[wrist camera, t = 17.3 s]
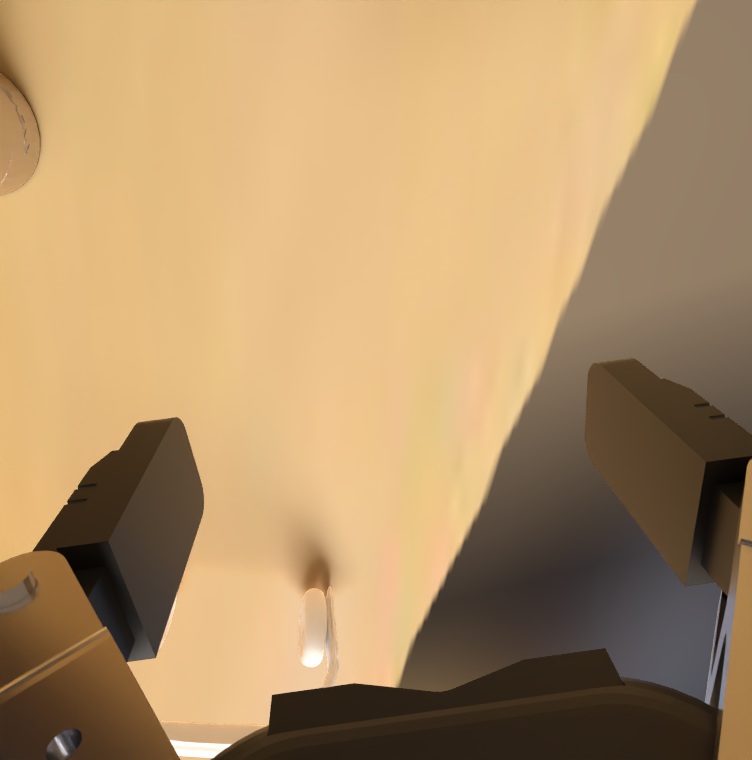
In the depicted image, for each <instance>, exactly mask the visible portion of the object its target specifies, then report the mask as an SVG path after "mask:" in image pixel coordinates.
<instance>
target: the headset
mask: <svg viewBox="0 0 752 760" xmlns="http://www.w3.org/2000/svg"><path fill="white" fill-rule="evenodd" d="M176 599H177V595H176V598H175V601H174V604H173V607H172V610H171V613H170V616H169V619H168V622H167V625H166V628H165V631H164V634H163V637H162V640H161V643H160V646H159V649H160V647H161V646H162V644H163V642H164V640H165V638H166V636H167V633H168V630H169V628H170V625H171V621H172V618H173V614H174V610H175V605H176ZM325 642H326V655H327V669H328V673H327V677H326V680H325V683H324V685H323V688H326V687H333V686H334V683H335V679H336V676H337V672H338V658H337V656H338V647H337V634H336V623H335V613H334V602H333V592H332V586H329V587H328V590H327V594H326V598H325V596H324V593H323V592H322V591H321V590H320V589H317V588H312V589H309V590H307V591H306V592H305V594H304V596H303V599H302V604H301V611H300V621H299V655H300V659H301V662H302V663H303V664H304V665H305V666H308V667H315V666H317V665H318V664H319V663H320V662H321V660H322V658H323V654H324V649H325ZM159 649H158V650H159ZM160 724H161V726H162V727H163V729H164V731H165V733H166V735H167V736H168V738H169V740H170V742H171V744H172V745H173V747H174V749H175V751H176V753H177V755H179V756H190V757H207V758H214V757H215V756H216V755H217V754H219V753H220V752H221V751H223V750H224V749H226V748H227V747H229V746H230V745H232V744H233V743H235V742H236V741H238V740H240V739H241V738H243V737H245V736H247V735H249V734H251V733H253V732H254V731H256V730H258V729H261V728H263V727H266V725H257V724H213V723H194V722H182V721H160Z"/></svg>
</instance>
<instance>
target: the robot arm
mask: <svg viewBox="0 0 752 760" xmlns="http://www.w3.org/2000/svg"><path fill="white" fill-rule="evenodd" d="M39 153H40V136H39V131H38V127H37V123H36V120H35V117H34V115H33V113H32V111H31V108H30V106H29V104H28V103H27V101H26V100H25V98H24V97H23V95H22V94H21V92H20V91H19V90H18V89H17V88H16V87H15V86H14V85H13V83H12V82H11V81H10V80H9V79H8V78H6V77H5V76H4V75H3V74H1V73H0V196H1V195H4V194H7V193H10V192H13V191H15V190H16V189H18V188H19V187H21V186H22V185H24V184H25V183H26V181H27V180H28V179H29V178H30V177H31V175H32V174H33V172H34V170H35V167H36V165H37V163H38V158H39ZM585 423H586V424H585V441H586V448H587V451H588V454H589V457H590V459H591V461H592V463H593V465H594V466H595V468H596V469H597V470H598V472H599V473H600V474H601V475H602V477H603V478H604V479H605V481H606V482H607V483H608V485H609V486H610V487H611V489H612V490H613V491H614V493H615V494H616V495H617V497H618V498H619V499H620V501H621V502H622V503H623V505H624V506H625V507H626V509H627V510H628V511H629V513H630V514H631V515H632V517H633V518H634V519H635V521H636V522H637V523H638V525H639V526H640V527H641V528H642V530H643V531H644V533H645V534H646V535H647V536H648V538H649V539H650V540H651V542H652V543H653V544H654V546H655V547H656V548H657V550H658V551H659V552H660V554H661V555H662V556H663V558H664V559H665V560H666V562H667V563H668V564H669V566H670V567H671V568H672V570H673V571H674V572H675V574H676V575H677V576H678V578H679V579H680V580H681V582H682V583H683V584H684V586H692V585H699V584H707V583H714V582H716V583H717V585H718V586H719V587H720V588H721V589H722V592H721V597H720V602H719V606H718V613H717V621H716V628H715V635H714V642H713V650H712V656H711V664H710V670H709V677H708V685H707V692H706V698H705V702H703V701H701V700H699V699H697V698H695V697H692V696H690V695H687V694H685V693H682V692H680V691H678V690H675V689H672V688H669V687H666V686H663V685H659V684H656V683H653V682H649V681H644V680H639V679H635V678H629V677H622V676H621V677H620V676H619V674H618V673H617V670H616V669H615V666H614V665H613V663H612V661H611V659H610V657H609V655H608V653H607V651H606V649H605V648H604V649H597V650H590V651H583V652H575V653H568V654H561V655H554V656H547V657H540V658H533V659H525V660H522V661H520V662H517V663H515V664H512V665H510V666H507V667H505V668H503V669H500V670H498V671H495V672H493V673H490V674H488V675H486V676H483V677H481V678H478V679H476V680H473V681H471V682H468V683H466V684H464V685H461V686H459V687H456V688H454V689H451V690H448V691H443V692H431V691H421V690H412V689H403V688H393V687H384V686H374V685H364V684H355V683H354V684H347V685H340V686H333V687H326V688H319V689H311V690H304V691H297V692H290V693H283V694H276V695H272V701H271V711H270V720H269V725H268V726H266V727H263V728H261V729H258V730H256V731H254V732H253V733H251V734H249V735H247V736H245V737H243V738H241V739H240V740H238V741H236V742H235V743H233V744H232V745H230V746H229V747H227V748H226V749H224V750H223V751H221V752H220V753H219V754H217V755H216V756H215V757H214V758H212V759H211V760H752V435H751V434H750V433H748V432H747V431H746V430H745V429H743V428H742V427H741V426H739V425H738V424H737V423H735V422H734V421H733V420H731V419H730V418H729V417H728V418H725V416H724V414H723V413H722V412H721V411H719V410H718V409H717V408H715V407H714V406H710V405H709V402H707V401H706V400H705V399H703V398H702V397H701V396H699V395H698V394H697V393H695V392H694V391H693V390H691V389H689V388H687V387H684V386H682V385H679V384H676V383H674V382H672V381H669V380H666V379H660V378H659V377H658V376H656V375H655V374H654V373H652V372H651V371H650V370H649V369H647V368H646V367H645V366H644V365H642V364H641V363H640V362H639V361H637V360H636V359H633V358H629V359H622V360H614V361H607V362H599V363H594V364H592V365H591V367H590V369H589V373H588V385H587V403H586V421H585ZM67 502H68V504H67V505H64V507H63V508H62V510H61V511H60V512H59V514H58V515H57V517H56V518H55V520H54V521H53V522H52V524H51V525H50V527H49V528H48V530H47V531H46V533H45V534H44V535H43V537H42V538H41V540H40V541H39V543H38V544H37V546H36V547H35V548H34V550H33V551H32V552H29V553H25V554H21V555H19V556H16V557H13V558H10V559H8V560H6V561H4V562H1V563H0V760H180V758H179V756H178V755H177V753H176V751H175V749H174V747H173V745H172V744H171V742H170V740H169V738H168V736H167V735H166V733H165V731H164V729H163V727H162V726H161V724H160V722H159V720H158V718H157V717H156V715H155V713H154V711H153V709H152V708H151V706H150V704H149V702H148V700H147V699H146V697H145V695H144V693H143V691H142V690H141V688H140V686H139V684H138V682H137V681H136V679H135V677H134V675H133V673H132V671H131V670H130V668H129V666H128V664H127V662H130V661H137V660H144V659H152V658H156V656H157V652H158V649H159V646H160V643H161V640H162V637H163V634H164V631H165V628H166V625H167V622H168V619H169V616H170V613H171V610H172V607H173V604H174V601H175V598H176V595H177V592H178V589H179V585H180V582H181V579H182V576H183V573H184V570H185V567H186V564H187V561H188V558H189V555H190V552H191V549H192V546H193V543H194V540H195V537H196V534H197V531H198V528H199V525H200V522H201V518H202V515H203V509H204V495H203V488H202V483H201V480H200V477H199V473H198V470H197V466H196V463H195V460H194V456H193V453H192V450H191V446H190V443H189V440H188V436H187V433H186V430H185V427H184V424H183V423H182V421H181V420H180V419H179V418H177V417H176V418H168V419H161V420H153V421H146V422H139V423H137V424H136V425H135V426H134V428H133V429H132V431H131V432H130V434H129V435H128V437H127V439H126V440H125V442H124V443H123V445H122V446H121V448H120V449H119V450H116V451H111V452H110V453H109V454H108V455H106V456H105V457H104V458H103V459H101V460H100V461H99V462H97V463H96V464H95V465H94V466H92V467H91V468H90V469H89V471H88V472H87V474H86V475H85V476H84V478H83V479H82V481H81V482H80V484H79V485H78V489H77V490H75V491H74V492H73V494H72V495H71V497H70V498H69V499H68V501H67Z"/></svg>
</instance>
